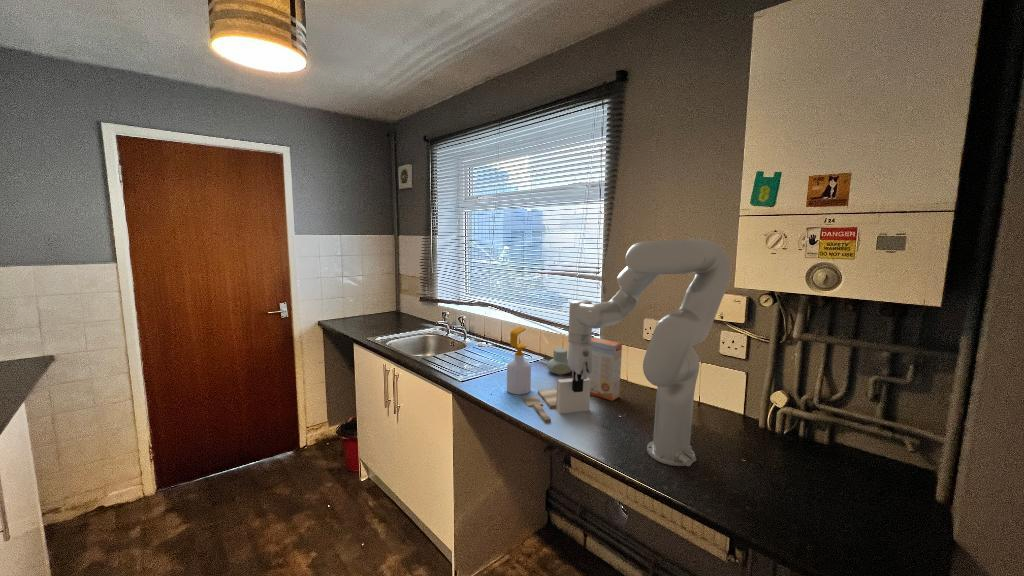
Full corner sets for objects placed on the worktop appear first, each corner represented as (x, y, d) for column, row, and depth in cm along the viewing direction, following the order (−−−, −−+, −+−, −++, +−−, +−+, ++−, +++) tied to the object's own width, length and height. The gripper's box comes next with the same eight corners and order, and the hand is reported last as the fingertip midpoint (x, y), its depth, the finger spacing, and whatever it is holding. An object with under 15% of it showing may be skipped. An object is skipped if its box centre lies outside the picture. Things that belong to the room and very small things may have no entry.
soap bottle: (535, 392, 162) (536, 329, 158) (515, 397, 157) (516, 332, 153) (521, 384, 169) (522, 324, 166) (502, 389, 164) (503, 327, 160)
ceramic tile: (589, 410, 146) (590, 380, 145) (559, 413, 143) (560, 382, 142) (585, 407, 149) (586, 377, 147) (556, 409, 146) (557, 379, 145)
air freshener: (548, 375, 180) (548, 352, 178) (546, 369, 188) (546, 347, 187) (573, 376, 180) (574, 353, 178) (570, 369, 188) (571, 347, 187)
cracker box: (620, 397, 158) (623, 342, 155) (611, 401, 154) (614, 345, 151) (587, 387, 167) (590, 335, 164) (579, 391, 163) (581, 338, 160)
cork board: (587, 404, 151) (587, 402, 151) (550, 408, 147) (550, 405, 147) (572, 390, 164) (572, 387, 164) (537, 393, 161) (538, 390, 160)
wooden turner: (556, 422, 137) (556, 418, 137) (539, 423, 136) (539, 420, 136) (536, 397, 156) (537, 394, 156) (522, 399, 155) (522, 396, 155)
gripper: (600, 343, 133) (597, 399, 135) (581, 331, 147) (578, 382, 150) (578, 344, 131) (576, 401, 133) (560, 332, 145) (558, 383, 148)
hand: (577, 390), depth 141 cm, fingers closed
